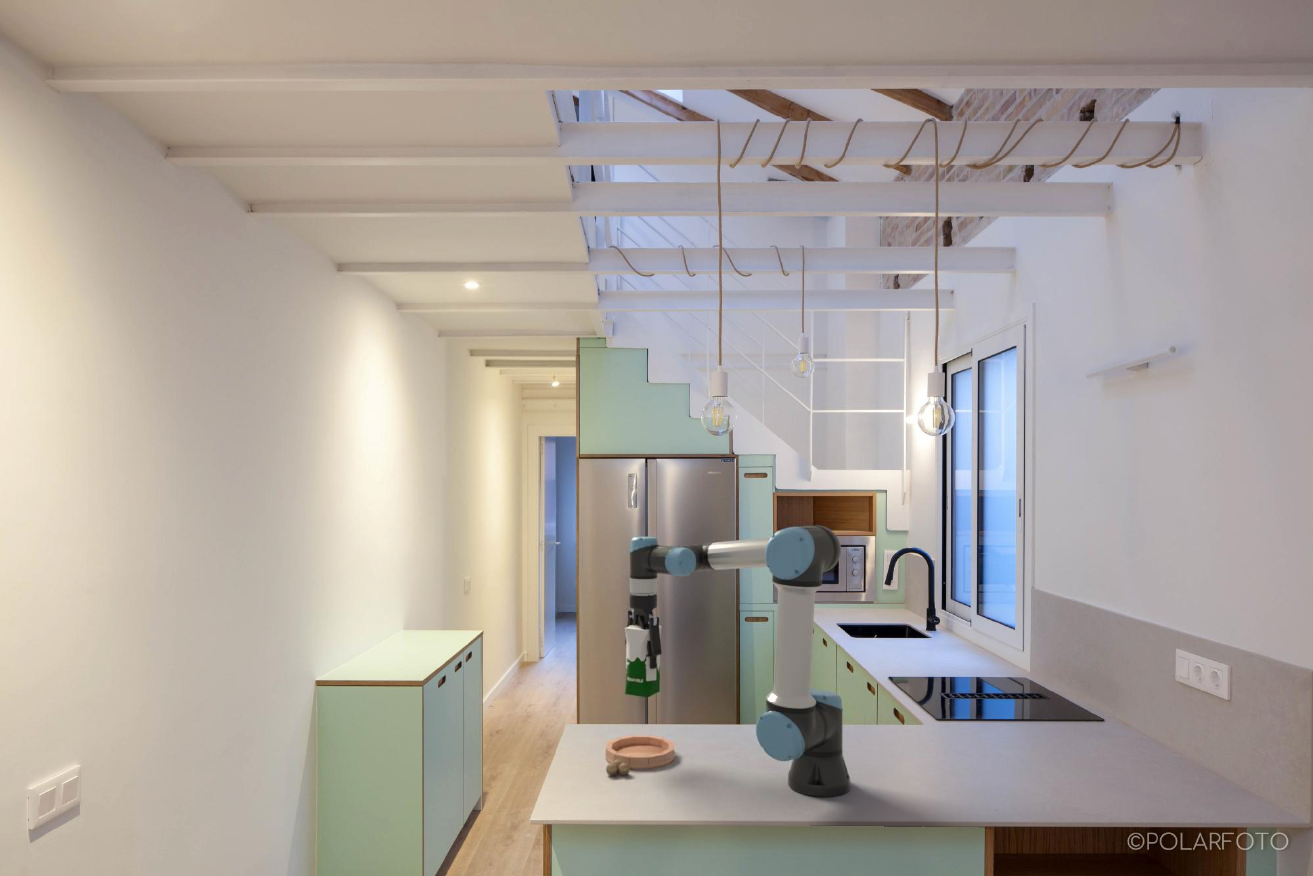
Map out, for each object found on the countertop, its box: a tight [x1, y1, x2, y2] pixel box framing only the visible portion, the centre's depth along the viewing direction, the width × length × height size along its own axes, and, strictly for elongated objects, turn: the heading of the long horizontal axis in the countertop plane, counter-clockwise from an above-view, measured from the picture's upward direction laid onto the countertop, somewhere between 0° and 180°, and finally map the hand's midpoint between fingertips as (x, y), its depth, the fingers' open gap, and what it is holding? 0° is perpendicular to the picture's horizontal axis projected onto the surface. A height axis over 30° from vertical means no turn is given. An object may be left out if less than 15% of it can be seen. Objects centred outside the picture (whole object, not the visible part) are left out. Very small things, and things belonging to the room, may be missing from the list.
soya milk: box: [624, 625, 663, 698], centre depth 226 cm, size 9×9×20 cm
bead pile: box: [605, 760, 631, 777], centre depth 213 cm, size 6×6×3 cm
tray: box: [604, 734, 676, 770], centre depth 226 cm, size 19×19×3 cm
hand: (642, 676), depth 225 cm, fingers closed on soya milk, 9 cm apart
